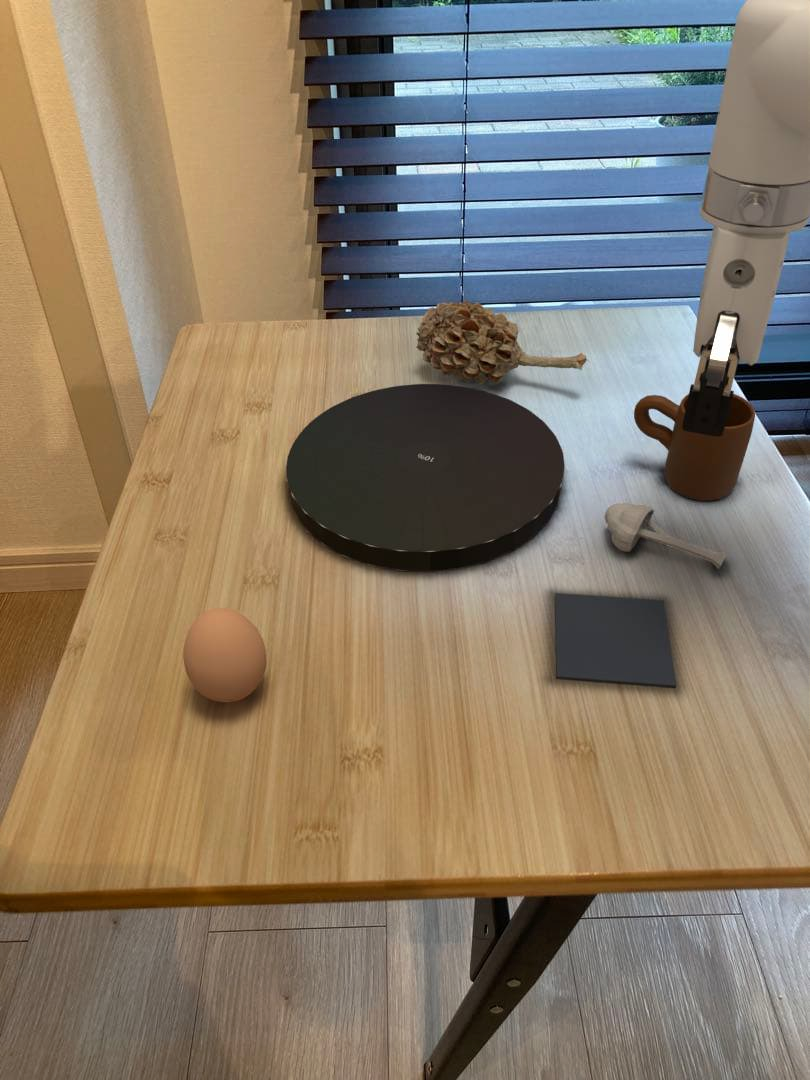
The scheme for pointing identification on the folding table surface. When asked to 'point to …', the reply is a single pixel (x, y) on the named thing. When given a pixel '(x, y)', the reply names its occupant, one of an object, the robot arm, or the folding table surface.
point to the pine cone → (477, 344)
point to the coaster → (613, 640)
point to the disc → (425, 477)
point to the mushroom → (631, 525)
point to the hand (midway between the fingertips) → (709, 401)
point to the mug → (699, 447)
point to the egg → (224, 655)
